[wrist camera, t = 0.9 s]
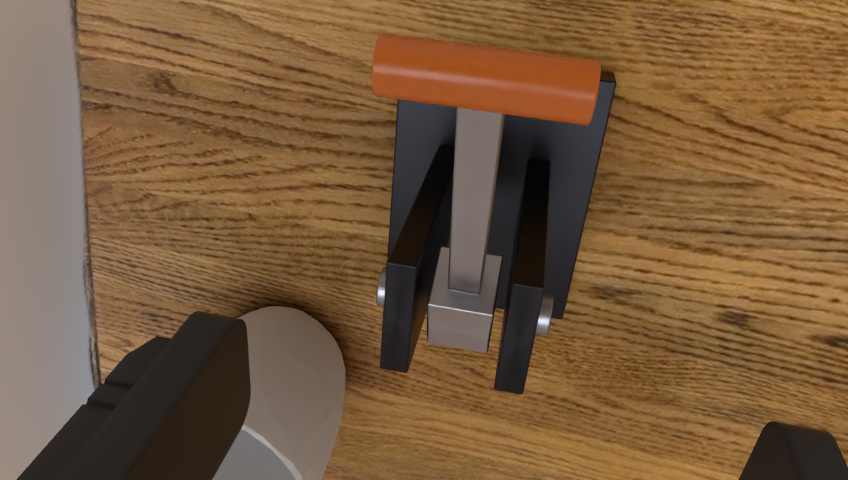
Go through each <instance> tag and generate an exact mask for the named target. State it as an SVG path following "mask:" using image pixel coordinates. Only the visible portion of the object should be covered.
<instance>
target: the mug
mask: <svg viewBox="0 0 848 480" xmlns="http://www.w3.org/2000/svg"><path fill="white" fill-rule="evenodd" d="M238 319H242V320H244V322H245V324H246V327H247V337H248V353H249V369H250V385H251V396H250V403H249V408H248V412H247V415H246V419H245V421H244V424H243V426H242V428H241V430H240V432H239V434H238V435H237V437H236V439H235V441H234V442H233V444H232V446H231V448H230V449H229V451H228V453H227V455H226V457H225V458H224V460H223V462H222V464H221V465H220V467H219V469H218V471H217V472H216V474H215V476H214V478H213V479H212V480H322V477H323V475H324V472H325V469H326V467H327V464H328V461H329V458H330V455H331V452H332V449H333V446H334V443H335V440H336V437H337V434H338V431H339V426H340V420H341V415H342V410H343V405H344V398H345V366H344V362H343V358H342V353H341V351H340V349H339V347H338V344H337V342H336V341H335V339H334V338H333V336H332V335H331V334H330V333H329V332H328V331H327V330H326V329H325V328H324V326H323V325H322V324H321V323H320V322H318V321H317V320H315V319H314V318H312V317H311V316H309V315H308V314H306V313H305V312H303V311H300V310H297V309H295V308H290V307H281V306H269V307H265V308H261V309H258V310H255V311H251V312H249V313H247V314H245V315H243V316H241V317H239V318H238Z"/></svg>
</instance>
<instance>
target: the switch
mask: <svg viewBox="0 0 848 480" xmlns="http://www.w3.org/2000/svg"><path fill="white" fill-rule="evenodd" d="M600 75H601V63H600V61H597V60H589V59H581V58H573V57H565V56H558V55H550V54H542V53H534V52H526V51H519V50H511V49H503V48H495V47H487V46H479V45H472V44H464V43H456V42H448V41H440V40H433V39H425V38H417V37H409V36H401V35H394V34H386V33H383V34H381V35H380V36H379V38H378V40H377V43H376V46H375V50H374V55H373V62H372V76H371V79H372V89H373V93H374V95H375V96H377V97H384V98H391V99H398V100H406V101H413V102H420V103H427V104H434V105H441V106H449V107H456V108H457V115H456V135H455V154H454V173H453V193H452V212H451V231H450V248H449V247H443V246H442V247H440V249H439V254H438V258H437V263H436V267H435V271H434V276H433V280H432V284H431V289H430V293H429V297H428V302H427V342H428V343H432V344H437V345H443V346H448V347H454V348H459V349H465V350H470V351H476V352H481V353H487V352H488V347H489V341H490V336H491V330H492V324H493V318H494V312H495V306H496V299H497V293H498V287H499V281H500V275H501V268H502V262H503V257H502V256H498V255H492V254H487V247H488V239H489V232H490V224H491V216H492V209H493V201H494V194H495V186H496V178H497V171H498V163H499V156H500V148H501V140H502V133H503V125H504V118H505V114H506V115H513V116H520V117H528V118H535V119H542V120H549V121H556V122H564V123H571V124H578V125H585V126H587V125H589V124H590V122H591V119H592V116H593V113H594V109H595V104H596V100H597V94H598V89H599V83H600Z"/></svg>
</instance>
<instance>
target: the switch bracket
mask: <svg viewBox="0 0 848 480" xmlns="http://www.w3.org/2000/svg"><path fill="white" fill-rule="evenodd" d="M615 87H616V80H615V76H614V73H611V72H603V71H601V75H600V83H599V89H598V94H597V100H596V104H595V109H594V113H593V116H592V119H591V122H590V124H589V125H587V126H585V125H578V124H571V123H564V122H556V121H549V120H542V119H535V118H528V117H520V116H513V115H506V114H505V118H504V125H503V133H502V140H501V148H500V156H499V163H498V171H497V178H496V186H495V194H494V201H493V209H492V216H491V224H490V232H489V239H488V247H487V254H492V255H498V256H502V257H503V262H502V268H501V275H500V281H499V287H498V293H497V299H496V306H495V308H500V309H505V310H504V317H503V325H502V332H501V340H500V347H499V354H498V362H497V369H496V376H495V384H494V389H495V390H499V391H505V392H510V393H515V394H523V392H524V387H525V382H526V377H527V372H528V367H529V363H530V358H531V353H532V348H533V343H534V338H535V334H541V335H547V334H548V331H549V327H550V322H551V317H552V318H557V319H562V318H563V314H564V310H565V306H566V301H567V297H568V293H569V288H570V284H571V279H572V275H573V271H574V266H575V262H576V258H577V253H578V249H579V244H580V240H581V236H582V231H583V227H584V223H585V218H586V214H587V209H588V205H589V201H590V196H591V192H592V188H593V183H594V179H595V175H596V170H597V166H598V161H599V157H600V153H601V148H602V144H603V140H604V135H605V131H606V126H607V122H608V118H609V113H610V109H611V105H612V100H613V96H614V92H615ZM456 115H457V108H456V107H449V106H441V105H434V104H427V103H420V102H413V101H406V100H398V106H397V121H396V137H395V152H394V167H393V183H392V198H391V213H390V229H389V244H388V260H387V264H386V267H384V268H383V269H382V271H381V274H380V277H379V281H378V286H377V294H376V302H377V305H378V306H382V307H384V311H383V326H382V342H381V357H380V368H382V369H387V370H393V371H398V372H404V373H407V372H408V370H409V366H410V363H411V360H412V357H413V354H414V350H415V347H416V344H417V341H418V337H419V334H420V331H421V328H422V324H423V321H424V318H425V315H426V312H427V302H428V297H429V293H430V289H431V284H432V280H433V276H434V271H435V267H436V263H437V258H438V254H439V249H440V247H442V246H443V247H449V248H450V231H451V212H452V193H453V173H454V154H455V135H456Z"/></svg>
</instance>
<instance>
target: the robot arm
mask: <svg viewBox="0 0 848 480" xmlns="http://www.w3.org/2000/svg"><path fill="white" fill-rule="evenodd" d="M250 396H251V385H250V369H249V353H248V337H247V327H246V324H245V322H244V320H242V319H238V318H233V317H227V316H222V315H217V314H212V313H206V312H201V311H197V312H194V313H193V314H192V315H191V316H190V317H189V318H188V319H187V320H186V321H185V323H184V324H183V325H182V326H181V327H180V329H179V330H178V331H177V332H176V334H175V335H174V336H173V337H172V338H171V339H168V338H163V337H158V336H157V337H155V338H154V339H152V340H150V341H149V342H147V343H145V344H144V345H142V346H140V347H139V348H137V349H135V350H134V351H132V352H130V353H129V354H127V355H126V356H125V357H124V358H123V359H122V361H121V362H120V363H119V364H118V365H117V366H116V367H115V369H114V370H113V371H112V372H111V373H110V374H109V375H108V376H107V378H106V379H105V383H104V384H100V386H99V387H98V388H97V389H96V390H95V391H94V392H93V393H92V395H91V396H90V397H89V398H88V401H87V404H86V405H84V404H83V405H82V406H81V407H80V408H79V409H78V410H77V412H76V413H75V414H74V415H73V416H72V417H71V418H70V420H69V421H68V422H67V423H66V424H65V425H64V426H63V428H62V429H61V430H60V431H59V432H58V433H57V434H56V435H55V437H54V438H53V439H52V440H51V441H50V442H49V443H48V445H47V446H46V447H45V448H44V449H43V450H42V451H41V453H40V454H39V455H38V456H37V457H36V458H35V459H34V460H33V462H32V463H31V464H30V465H29V466H28V467H27V468H26V470H25V471H24V472H23V473H22V474H21V475H20V476H19V477H18V479H17V480H212V479H213V478H214V476H215V474H216V472H217V471H218V469H219V467H220V465H221V464H222V462H223V460H224V458H225V457H226V455H227V453H228V451H229V449H230V448H231V446H232V444H233V442H234V441H235V439H236V437H237V435H238V434H239V432H240V430H241V428H242V426H243V424H244V421H245V419H246V415H247V412H248V408H249V403H250ZM739 480H848V467H847V465H846V462H845V460H844V458H843V456H842V454H841V451H840V449H839V447H838V445H837V443H836V441H835V439H834V437H833V436H832V435H831V434H830V433H829V432H826V431H822V430H816V429H811V428H806V427H801V426H795V425H790V424H785V423H779V422H769V423H768V424H767V425H766V426H765V427H764V428H763V430H762V432H761V434H760V436H759V438H758V440H757V443H756V445H755V447H754V449H753V451H752V453H751V455H750V457H749V459H748V461H747V463H746V466H745V468H744V470H743V472H742V474H741V476H740V478H739Z"/></svg>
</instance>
